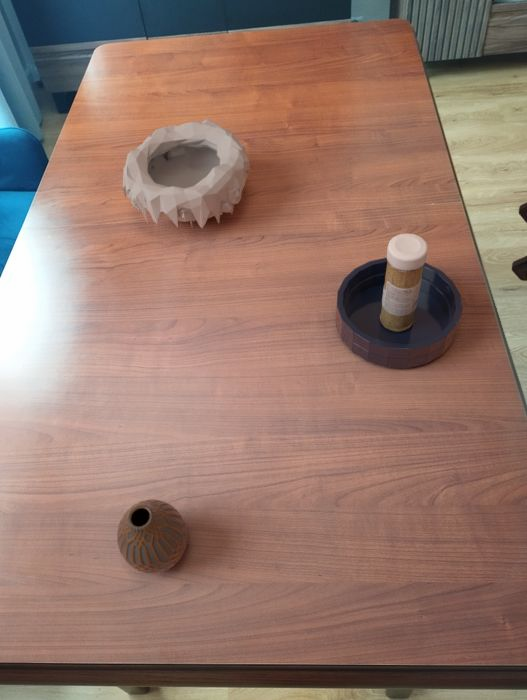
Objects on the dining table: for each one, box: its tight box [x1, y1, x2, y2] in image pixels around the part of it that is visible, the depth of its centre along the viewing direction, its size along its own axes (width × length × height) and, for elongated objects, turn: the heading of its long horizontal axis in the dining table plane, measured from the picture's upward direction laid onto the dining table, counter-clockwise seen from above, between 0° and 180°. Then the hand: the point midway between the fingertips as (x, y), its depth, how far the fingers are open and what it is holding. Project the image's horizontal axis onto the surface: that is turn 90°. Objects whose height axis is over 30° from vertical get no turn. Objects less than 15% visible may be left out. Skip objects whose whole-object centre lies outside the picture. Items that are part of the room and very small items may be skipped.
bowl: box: [122, 118, 251, 229], centre depth 93 cm, size 21×20×10 cm
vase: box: [116, 498, 189, 574], centre depth 59 cm, size 7×7×9 cm
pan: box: [335, 257, 463, 369], centre depth 76 cm, size 16×16×4 cm
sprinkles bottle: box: [380, 233, 429, 332], centre depth 72 cm, size 5×5×14 cm
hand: (519, 243), depth 58 cm, fingers open, 8 cm apart
